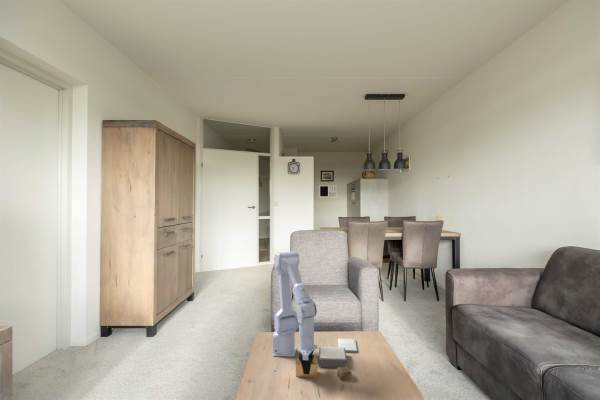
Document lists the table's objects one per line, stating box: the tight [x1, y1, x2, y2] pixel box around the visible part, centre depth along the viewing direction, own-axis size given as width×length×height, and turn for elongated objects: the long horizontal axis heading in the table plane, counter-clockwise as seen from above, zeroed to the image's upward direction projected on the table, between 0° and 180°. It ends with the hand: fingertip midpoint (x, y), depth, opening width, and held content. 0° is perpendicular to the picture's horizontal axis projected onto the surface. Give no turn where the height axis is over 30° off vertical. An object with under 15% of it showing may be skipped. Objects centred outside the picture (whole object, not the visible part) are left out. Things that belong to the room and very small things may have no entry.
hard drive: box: [337, 338, 358, 354], centre depth 138 cm, size 2×8×12 cm
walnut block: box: [336, 365, 352, 382], centre depth 112 cm, size 4×4×3 cm
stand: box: [318, 346, 348, 369], centre depth 124 cm, size 11×11×3 cm
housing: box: [295, 357, 319, 379], centre depth 114 cm, size 8×4×5 cm, turn 85°
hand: (306, 370), depth 114 cm, fingers closed on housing, 4 cm apart
